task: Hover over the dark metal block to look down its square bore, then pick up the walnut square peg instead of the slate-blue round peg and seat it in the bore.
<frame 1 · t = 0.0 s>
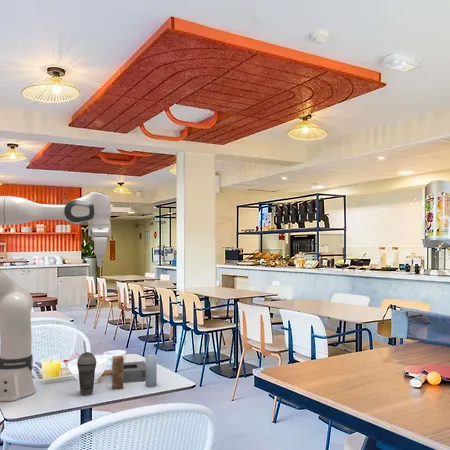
hand: (99, 266, 194), 48 cm above the table, tool pointing down, fingers open, 8 cm apart
bore block: (129, 377, 205), on the table
square peg: (117, 387, 191), on the table
beverage cup: (86, 394, 184), on the table
round peg: (151, 385, 194), on the table
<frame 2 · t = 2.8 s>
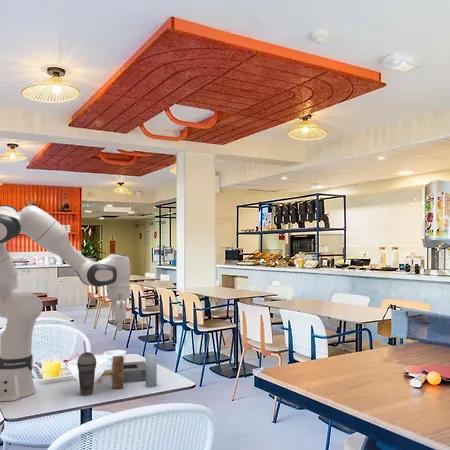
hand: (118, 328, 192), 23 cm above the table, tool pointing down, fingers open, 8 cm apart
nothing on the table moved.
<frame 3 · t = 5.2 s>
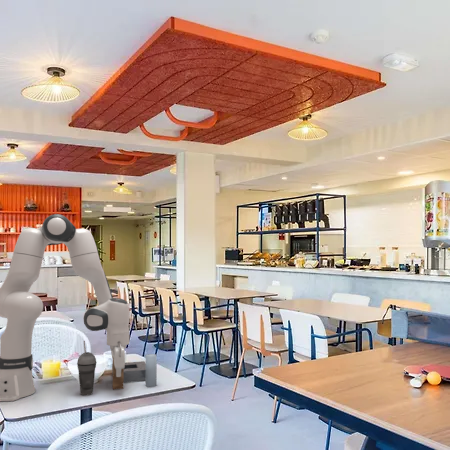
hand: (117, 374, 191), 5 cm above the table, tool pointing down, fingers closed on square peg, 4 cm apart
square peg: (117, 387, 191), on the table, touching gripper
everything else where it was.
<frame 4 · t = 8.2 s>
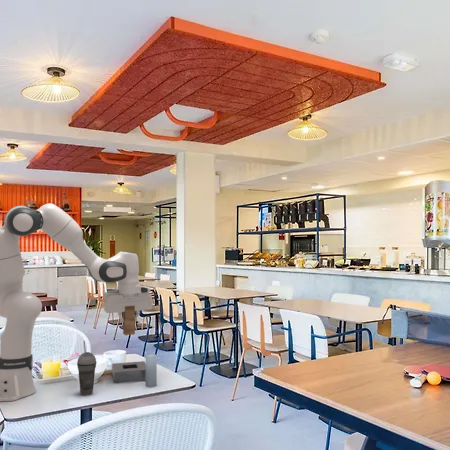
hand: (128, 321, 204), 24 cm above the table, tool pointing down, fingers closed on square peg, 4 cm apart
square peg: (129, 333, 203), point 19 cm above the table, touching gripper
everything else where it was.
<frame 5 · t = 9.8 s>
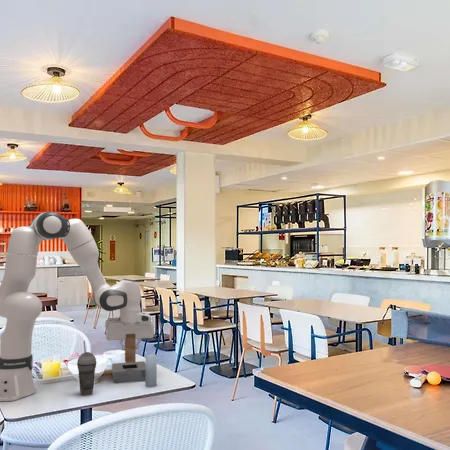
hand: (130, 349, 205), 12 cm above the table, tool pointing down, fingers closed on square peg, 4 cm apart
square peg: (130, 361, 205), point 7 cm above the table, touching gripper
everything else where it was.
when the fingers open (7 cm above the table, at t = 11.3 s): square peg drops 2 cm, resting in bore block.
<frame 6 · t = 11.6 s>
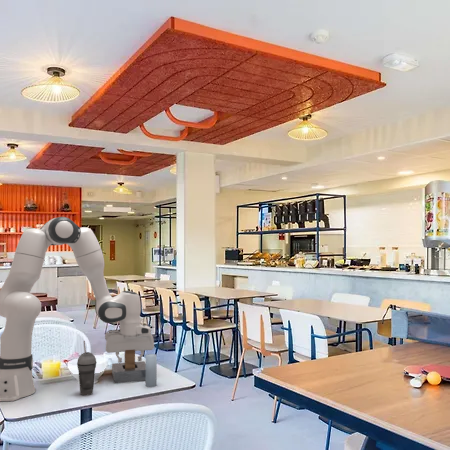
hand: (129, 361, 205), 7 cm above the table, tool pointing down, fingers open, 7 cm apart
square peg: (129, 377, 205), resting in bore block
everything else where it was.
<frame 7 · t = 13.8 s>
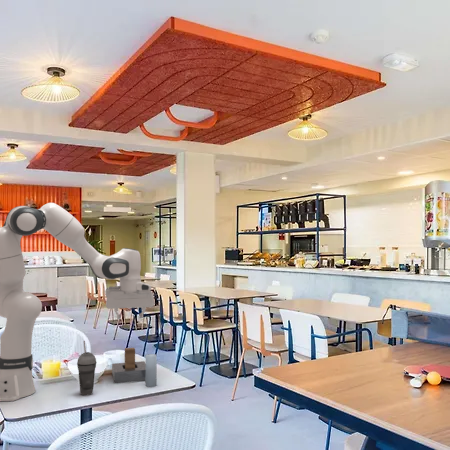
hand: (130, 318, 206), 25 cm above the table, tool pointing down, fingers open, 8 cm apart
nothing on the table moved.
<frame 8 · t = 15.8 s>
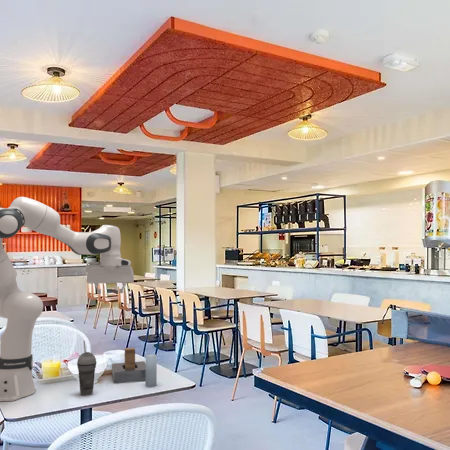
hand: (110, 293, 210), 35 cm above the table, tool pointing down, fingers open, 8 cm apart
nothing on the table moved.
at the end: square peg 0.1 cm off-centre on the bore block, point 0.0 cm above the bore block's base; square peg tilted 0°; round peg moved 0.0 cm from its start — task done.
